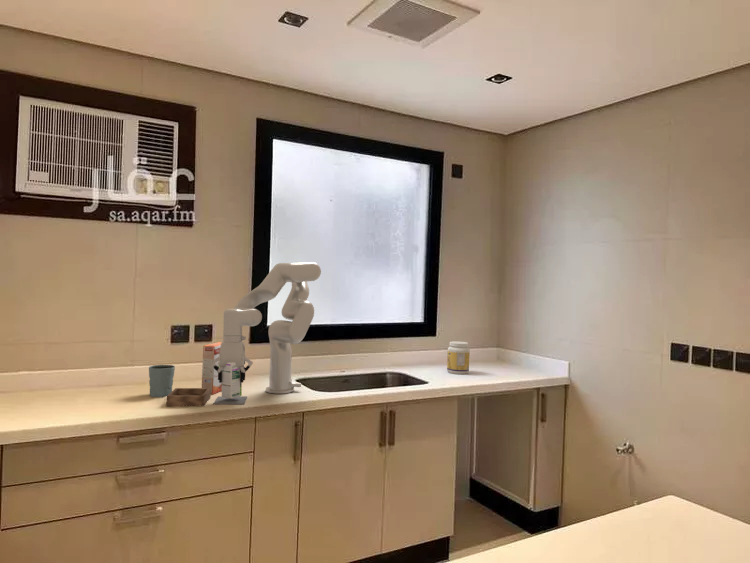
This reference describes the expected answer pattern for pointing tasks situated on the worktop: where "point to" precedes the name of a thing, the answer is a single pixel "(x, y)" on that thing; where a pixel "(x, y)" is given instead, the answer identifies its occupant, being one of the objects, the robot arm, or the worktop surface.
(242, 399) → the grey mat
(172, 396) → the walnut box
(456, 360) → the supplement tub
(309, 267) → the robot arm
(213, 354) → the cracker box
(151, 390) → the teal cup
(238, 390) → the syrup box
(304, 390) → the worktop surface
